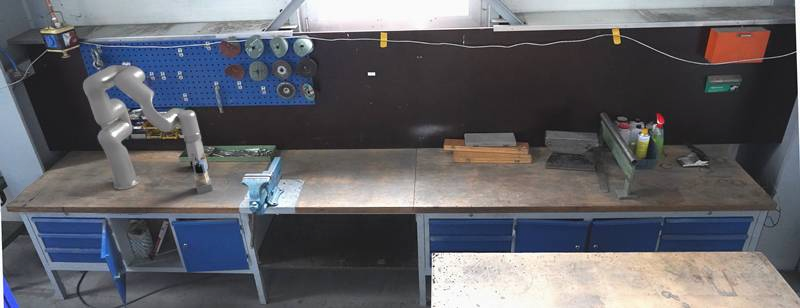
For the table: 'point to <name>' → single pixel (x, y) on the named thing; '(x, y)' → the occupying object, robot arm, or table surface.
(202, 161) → the blue cube
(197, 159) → the ammunition clip
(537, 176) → the table surface
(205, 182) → the maple cube
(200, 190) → the base block
